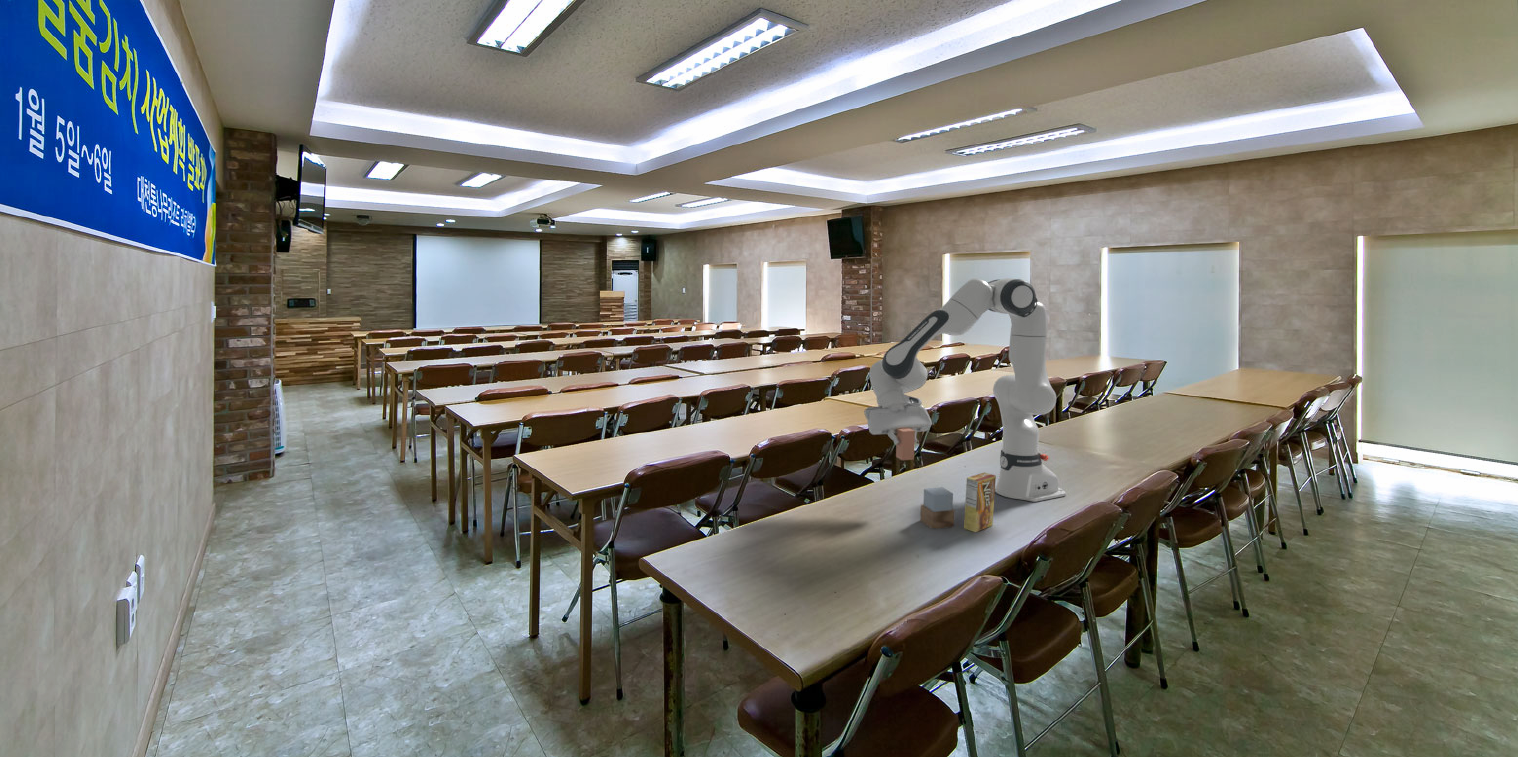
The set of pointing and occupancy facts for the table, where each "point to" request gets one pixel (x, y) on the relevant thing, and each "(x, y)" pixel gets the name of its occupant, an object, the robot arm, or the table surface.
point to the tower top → (938, 499)
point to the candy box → (979, 502)
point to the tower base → (937, 518)
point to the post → (905, 444)
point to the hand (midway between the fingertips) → (906, 443)
